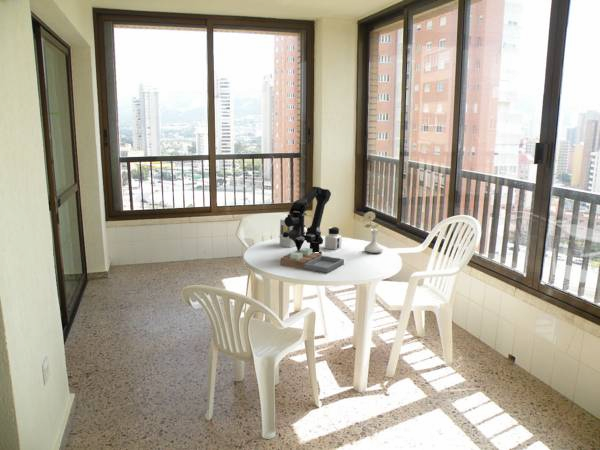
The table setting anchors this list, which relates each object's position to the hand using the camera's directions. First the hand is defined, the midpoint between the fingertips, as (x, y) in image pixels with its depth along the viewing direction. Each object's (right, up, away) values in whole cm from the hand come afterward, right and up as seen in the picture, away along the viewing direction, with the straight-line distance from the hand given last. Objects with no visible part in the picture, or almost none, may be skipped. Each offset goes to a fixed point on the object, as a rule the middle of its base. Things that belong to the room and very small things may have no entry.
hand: (298, 250), depth 299 cm
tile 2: (+4, -2, -2) cm, 5 cm away
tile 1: (-1, -4, -12) cm, 12 cm away
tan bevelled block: (+2, -6, -6) cm, 9 cm away
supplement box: (-6, +2, +32) cm, 32 cm away
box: (+14, -8, -13) cm, 21 cm away
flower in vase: (+45, -2, +20) cm, 49 cm away
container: (+21, 0, +27) cm, 34 cm away
